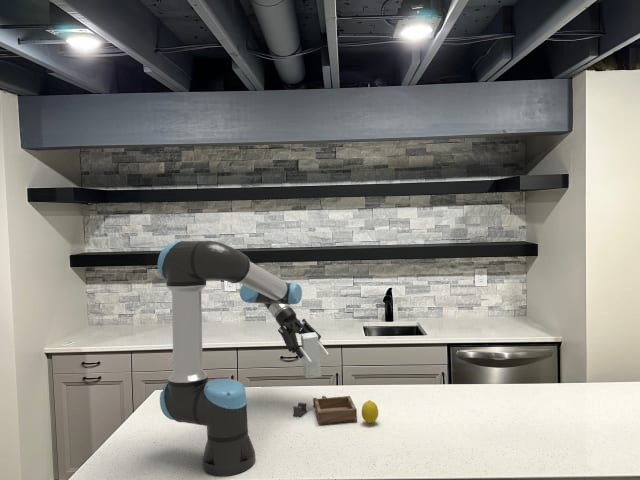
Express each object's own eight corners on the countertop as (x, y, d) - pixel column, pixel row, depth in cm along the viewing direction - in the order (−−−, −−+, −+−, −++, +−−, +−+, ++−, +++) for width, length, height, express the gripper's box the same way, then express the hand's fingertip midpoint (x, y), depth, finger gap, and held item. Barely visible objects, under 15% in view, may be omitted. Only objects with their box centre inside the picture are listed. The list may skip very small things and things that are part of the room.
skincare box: (321, 377, 177) (319, 336, 177) (305, 379, 176) (302, 338, 176) (318, 370, 186) (316, 331, 185) (302, 371, 185) (300, 332, 184)
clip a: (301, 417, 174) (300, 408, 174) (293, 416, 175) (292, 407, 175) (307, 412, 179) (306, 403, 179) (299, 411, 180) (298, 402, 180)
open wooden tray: (357, 422, 168) (356, 409, 168) (319, 426, 166) (318, 412, 166) (350, 408, 181) (349, 395, 181) (315, 411, 179) (314, 399, 179)
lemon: (382, 423, 166) (380, 399, 166) (372, 428, 162) (370, 404, 162) (368, 419, 170) (367, 396, 170) (358, 424, 166) (357, 401, 166)
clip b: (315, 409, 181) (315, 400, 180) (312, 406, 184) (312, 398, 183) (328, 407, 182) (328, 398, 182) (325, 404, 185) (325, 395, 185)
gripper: (296, 313, 198) (330, 358, 189) (257, 325, 181) (292, 374, 172) (306, 301, 195) (341, 346, 186) (267, 312, 177) (303, 362, 168)
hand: (317, 360), depth 179 cm, fingers closed on skincare box, 9 cm apart
